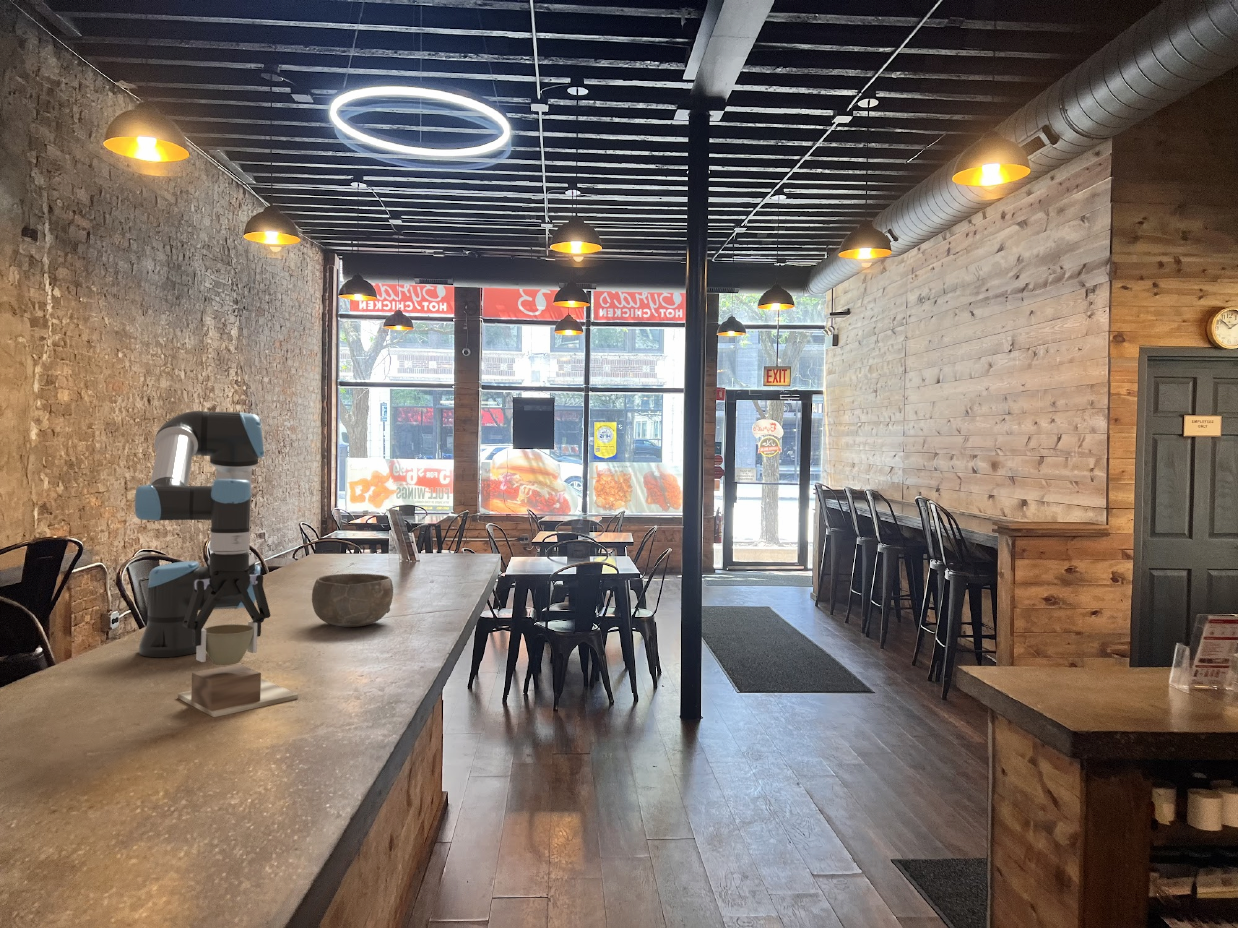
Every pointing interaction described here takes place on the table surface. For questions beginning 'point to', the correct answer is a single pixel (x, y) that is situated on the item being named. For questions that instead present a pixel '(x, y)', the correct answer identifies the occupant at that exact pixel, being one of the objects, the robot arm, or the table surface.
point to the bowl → (352, 598)
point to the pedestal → (225, 687)
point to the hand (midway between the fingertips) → (227, 656)
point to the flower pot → (227, 643)
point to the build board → (267, 697)
